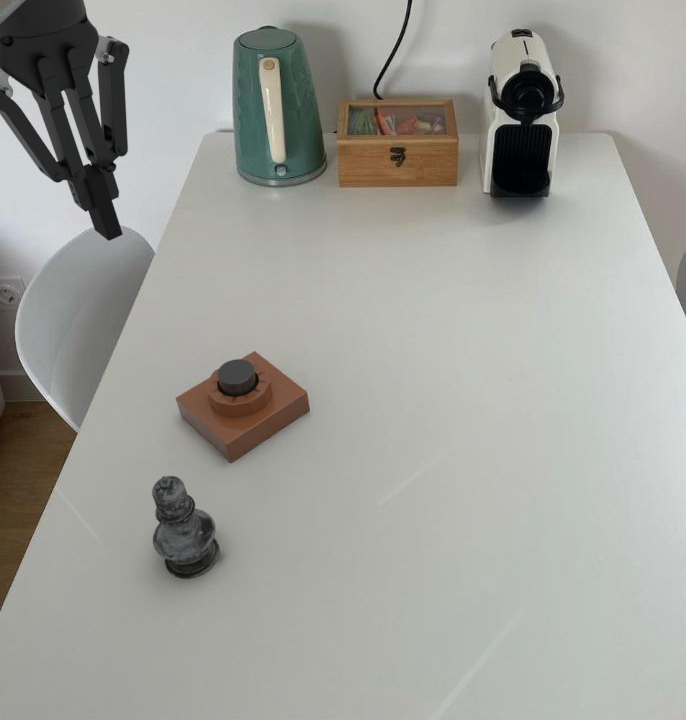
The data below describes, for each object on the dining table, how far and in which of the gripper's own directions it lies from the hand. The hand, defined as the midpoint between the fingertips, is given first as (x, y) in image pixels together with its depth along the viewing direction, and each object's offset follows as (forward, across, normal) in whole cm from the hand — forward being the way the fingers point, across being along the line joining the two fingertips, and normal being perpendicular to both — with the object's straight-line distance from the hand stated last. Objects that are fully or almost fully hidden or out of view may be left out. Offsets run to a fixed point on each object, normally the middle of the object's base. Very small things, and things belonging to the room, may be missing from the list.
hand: (108, 232), depth 77 cm
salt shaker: (+25, +9, +19) cm, 32 cm away
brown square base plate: (+24, -6, +7) cm, 26 cm away
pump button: (+20, -6, +7) cm, 22 cm away
